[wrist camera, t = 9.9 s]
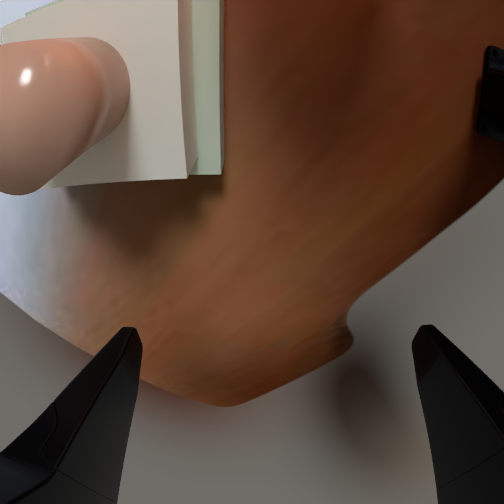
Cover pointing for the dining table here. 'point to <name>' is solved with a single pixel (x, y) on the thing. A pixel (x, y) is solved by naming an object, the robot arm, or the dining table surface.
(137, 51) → the cream slab
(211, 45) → the sage slab
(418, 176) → the dining table surface
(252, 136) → the dining table surface
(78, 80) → the pale pink cylinder
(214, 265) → the dining table surface
